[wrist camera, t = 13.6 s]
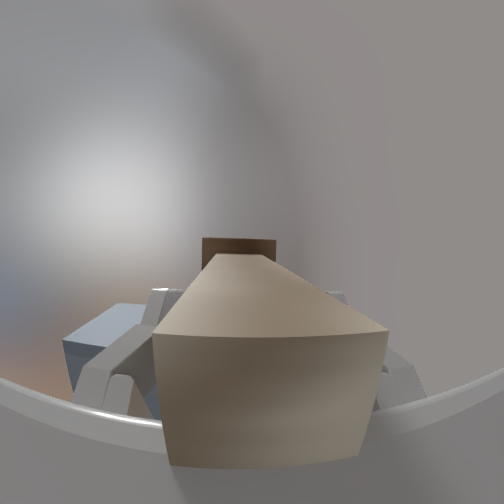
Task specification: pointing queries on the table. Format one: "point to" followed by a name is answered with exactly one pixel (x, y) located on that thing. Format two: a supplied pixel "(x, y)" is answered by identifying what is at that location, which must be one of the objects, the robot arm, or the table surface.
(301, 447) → the long tan plank
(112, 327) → the tall blue-grey box
